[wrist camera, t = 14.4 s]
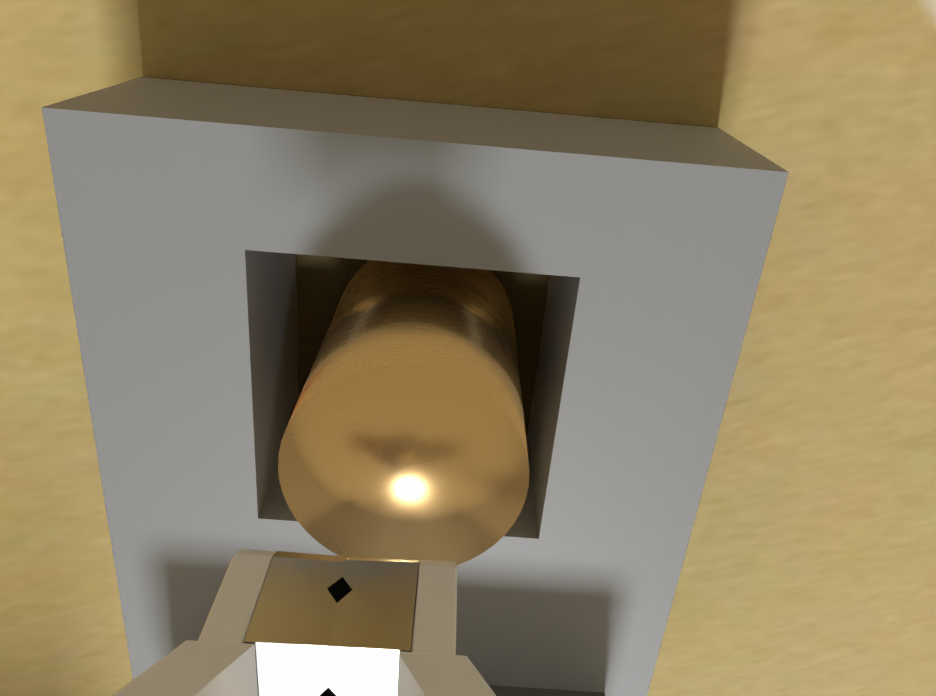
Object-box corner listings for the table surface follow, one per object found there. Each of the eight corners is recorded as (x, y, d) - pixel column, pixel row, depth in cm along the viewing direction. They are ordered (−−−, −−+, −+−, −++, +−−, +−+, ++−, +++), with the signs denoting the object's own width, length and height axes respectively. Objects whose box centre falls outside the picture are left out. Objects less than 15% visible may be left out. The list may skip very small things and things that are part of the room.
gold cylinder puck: (523, 251, 17) (545, 377, 12) (504, 409, 19) (514, 581, 14) (338, 235, 17) (274, 355, 12) (336, 396, 19) (280, 564, 14)
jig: (718, 127, 16) (875, 226, 10) (597, 667, 23) (643, 927, 17) (142, 77, 16) (-84, 146, 9) (199, 640, 23) (92, 895, 16)
